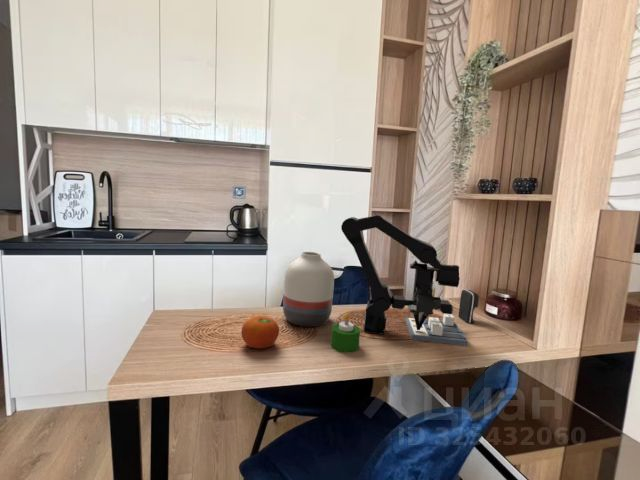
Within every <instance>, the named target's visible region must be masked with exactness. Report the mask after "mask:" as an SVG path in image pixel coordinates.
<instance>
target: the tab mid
mask: <svg viewBox="0 0 640 480" xmlns="http://www.w3.org/2000/svg"><path fill="white" fill-rule="evenodd" d="M427 320H428V327H429V329H431V324H432V322H434V323H440V321H441V320H440V319H439V317H435V316H433V317H432V316H428V319H427Z"/></svg>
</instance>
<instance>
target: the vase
mask: <svg viewBox="0 0 640 480" xmlns="http://www.w3.org/2000/svg"><path fill="white" fill-rule="evenodd" d="M334 284H335V275H334V271H333V268H332V267H331V265H330V264H328V262H326V261H325V260H324V259H323V258H322V256H321V253H320V252H318V251H317V252H316V251H303V252H301V254H300V256H299V257H298V258H296V259H295V260H293V261H292V262H291V263H289V265H288V266H287V267H286V270H285V274H284V279H283V295H282V296H283V297H282V298H283V299H282V309H283V311H282V312H283V315H284V317H285V319H286V320H287V321H288V322H289V323H291V324H293V325H295V326H300V327H306V328H307V327H318V326H321V325H324V324H325V323H326V322H328V321H329V319H330V317H331V314H332V310H333V309H332V308H333V302H334V300H333V298H334V288H335V285H334Z"/></svg>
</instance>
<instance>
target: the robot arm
mask: <svg viewBox="0 0 640 480" xmlns="http://www.w3.org/2000/svg"><path fill="white" fill-rule="evenodd" d="M340 228H341V231H342V233H343V235H344V236H345V238H346V240H347V241H348V242H349V243H350V244H351V245H352V247H353V249H354V252H355V254H356V256H357V259H358V261H359V263H360V266H361V269H362V271H363V273H364V275H365V278H366V280H367V282H368V285H369V290H370V296H371V298H370V299H369V300H368V301H367V304H366V307H365V312H364V314H365V315H364V324H363V332H364V333H370V334H379V335H383V334H384V335H385V331H386V327H387V325H386V324H387V317H386V314H385V312H386V311H388V310H389V309H390V308H392V309H396V310H397V309H399V310H403V309H404V308H405V307H406V306H407V308H408V310H409V312H410V313H412V315H413V318H414V319H415V324H416V328H417V330H420V328H421V326H422V325H423V323H424V321H425V319H426V320H427V318H428V317H430V315H434V310H439V312H441V313H442V314H450V315H453V312H454V307H453V305H452V304H451V302H450V301H449V300H446V299H445V300H444V299H441V297H439V296H434V297H433V295H432V286H433V285H434V284H433V280H434V283H435V282H436V283H437V285H438V286H443V287H452V288H458V287H459V284H460V266H459V265H458V264H442V262H441V261H440V260H439V259H438V258H437V257H438V253H437V250H436V249H435V247H434V246H433V245H432V244H431V243H428V242H426V241H423V240H421V239H419V238H416V237H413V236H412V235H410V234H409V233H407V232H405V231H404V230H403V229H401V228H399V227H397V225H395V224H394V223H392V222H390V221H389V220H387V219H385V218H384V217H383V216H382V215H381V214H374V215H372V216H367V217H361V218H358V217H354V216H351V217H348V218H346V219H344V221H342V224H341V227H340ZM372 229H377V230H379V231H380V232H382V233H383V234H385V235H386V236H388V237H390V238H391V239H393V240H394V241H395V242H397V243H399V244H400V245H402V246H404V247H405V248H406V249H407V250H409V252H410V253H411V254H412V255H413V256H415V258H416V259H417V260H419V262H418V261H417V260H414V261H413V262H412V263H410V264H409V269H412V270H414V271H415V273H414V281H413V291H412V297H411V299H406V298H405V296H403V295H394V294H393V292H392V291H391V289H390V285H389V282H386V283H385V284H384V282H383V281H382V280H381V278H380V276H379V273H378V271H377V268H376V266H375V264H374V261H373V258H372V256H371V254H370V251H369V249H368V247H367V244H366V242H365V236H364V231H367V230H372ZM428 265H430V266H428ZM434 275H435V276H434Z"/></svg>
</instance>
